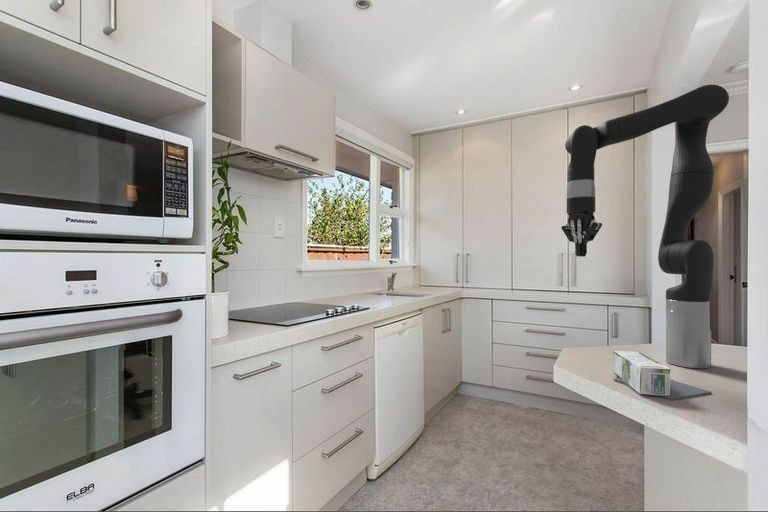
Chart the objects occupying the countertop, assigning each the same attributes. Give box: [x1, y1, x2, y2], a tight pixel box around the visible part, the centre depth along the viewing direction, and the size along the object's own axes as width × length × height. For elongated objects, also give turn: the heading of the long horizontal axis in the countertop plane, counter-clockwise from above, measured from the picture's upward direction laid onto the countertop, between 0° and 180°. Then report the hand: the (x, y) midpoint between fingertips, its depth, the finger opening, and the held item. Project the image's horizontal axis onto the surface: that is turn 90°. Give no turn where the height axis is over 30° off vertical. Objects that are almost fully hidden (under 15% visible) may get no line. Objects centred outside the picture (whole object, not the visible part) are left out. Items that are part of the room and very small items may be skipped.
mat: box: [613, 377, 712, 401], centre depth 84 cm, size 12×13×1 cm
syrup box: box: [612, 350, 671, 396], centre depth 85 cm, size 6×6×14 cm
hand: (580, 256), depth 111 cm, fingers closed
